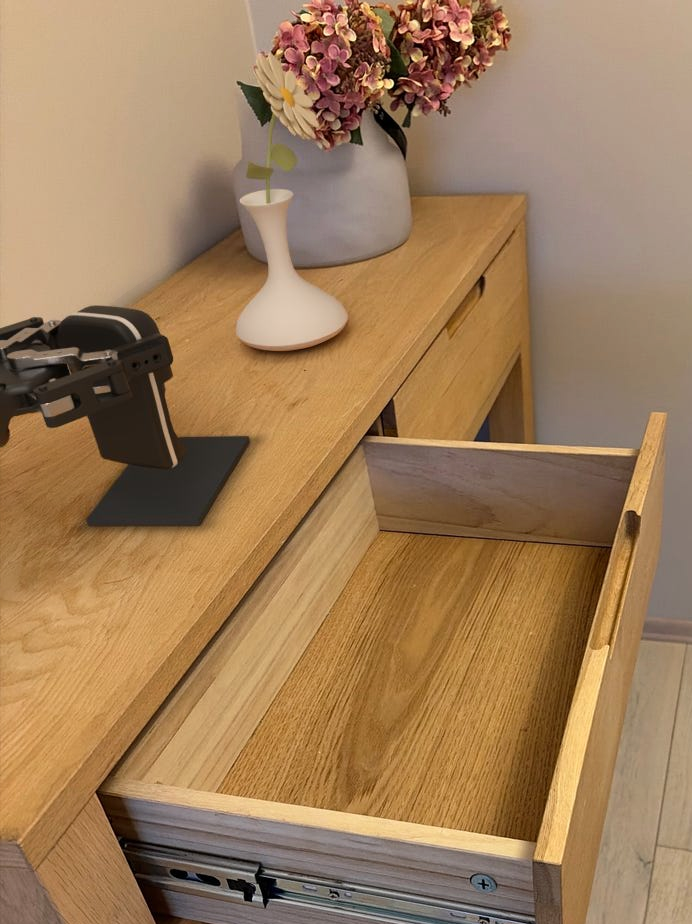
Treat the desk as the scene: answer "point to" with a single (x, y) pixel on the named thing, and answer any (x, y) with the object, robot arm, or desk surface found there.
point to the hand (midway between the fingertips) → (141, 334)
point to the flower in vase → (284, 235)
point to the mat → (172, 486)
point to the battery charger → (146, 413)
